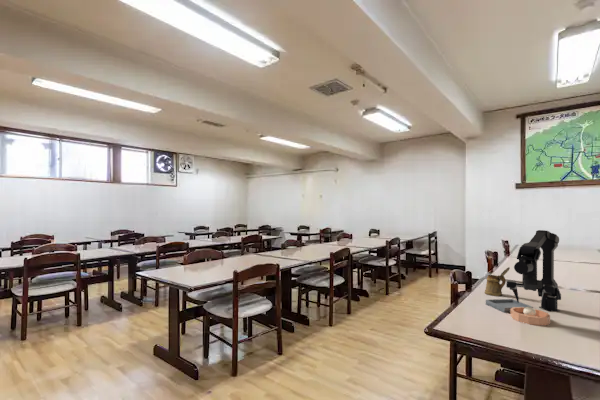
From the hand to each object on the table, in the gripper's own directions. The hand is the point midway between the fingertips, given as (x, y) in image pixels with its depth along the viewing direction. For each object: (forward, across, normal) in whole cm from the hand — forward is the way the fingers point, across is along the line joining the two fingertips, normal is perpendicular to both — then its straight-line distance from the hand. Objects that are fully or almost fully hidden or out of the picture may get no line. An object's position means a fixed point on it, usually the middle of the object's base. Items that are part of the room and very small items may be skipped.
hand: (529, 304), depth 154 cm
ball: (+4, 0, 0) cm, 4 cm away
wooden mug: (+8, -15, +41) cm, 44 cm away
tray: (+7, -9, +15) cm, 19 cm away
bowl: (+7, 0, 0) cm, 7 cm away
